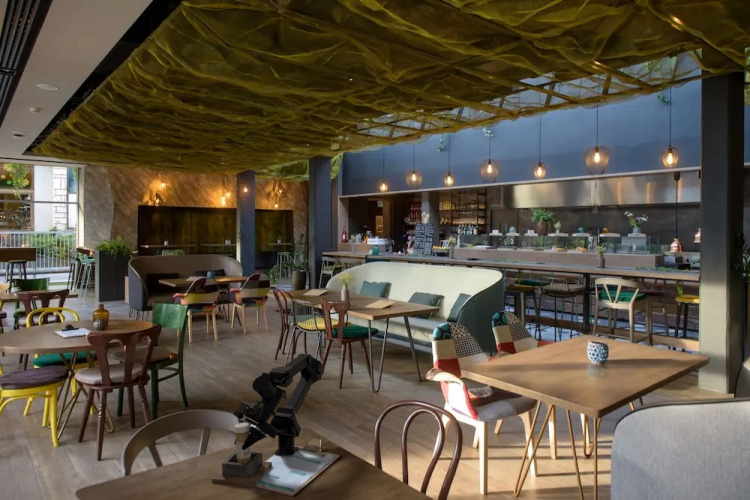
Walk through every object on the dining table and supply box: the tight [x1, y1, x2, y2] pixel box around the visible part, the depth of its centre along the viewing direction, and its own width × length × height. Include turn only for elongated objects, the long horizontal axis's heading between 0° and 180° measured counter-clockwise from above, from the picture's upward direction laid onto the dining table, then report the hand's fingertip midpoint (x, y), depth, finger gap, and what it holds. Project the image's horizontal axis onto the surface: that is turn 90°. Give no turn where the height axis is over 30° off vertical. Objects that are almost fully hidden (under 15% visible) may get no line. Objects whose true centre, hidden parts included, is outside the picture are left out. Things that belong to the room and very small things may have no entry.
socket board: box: [211, 450, 273, 488], centre depth 166 cm, size 14×14×5 cm
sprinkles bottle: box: [234, 422, 252, 464], centre depth 166 cm, size 5×5×14 cm
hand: (238, 447), depth 165 cm, fingers closed on sprinkles bottle, 4 cm apart
